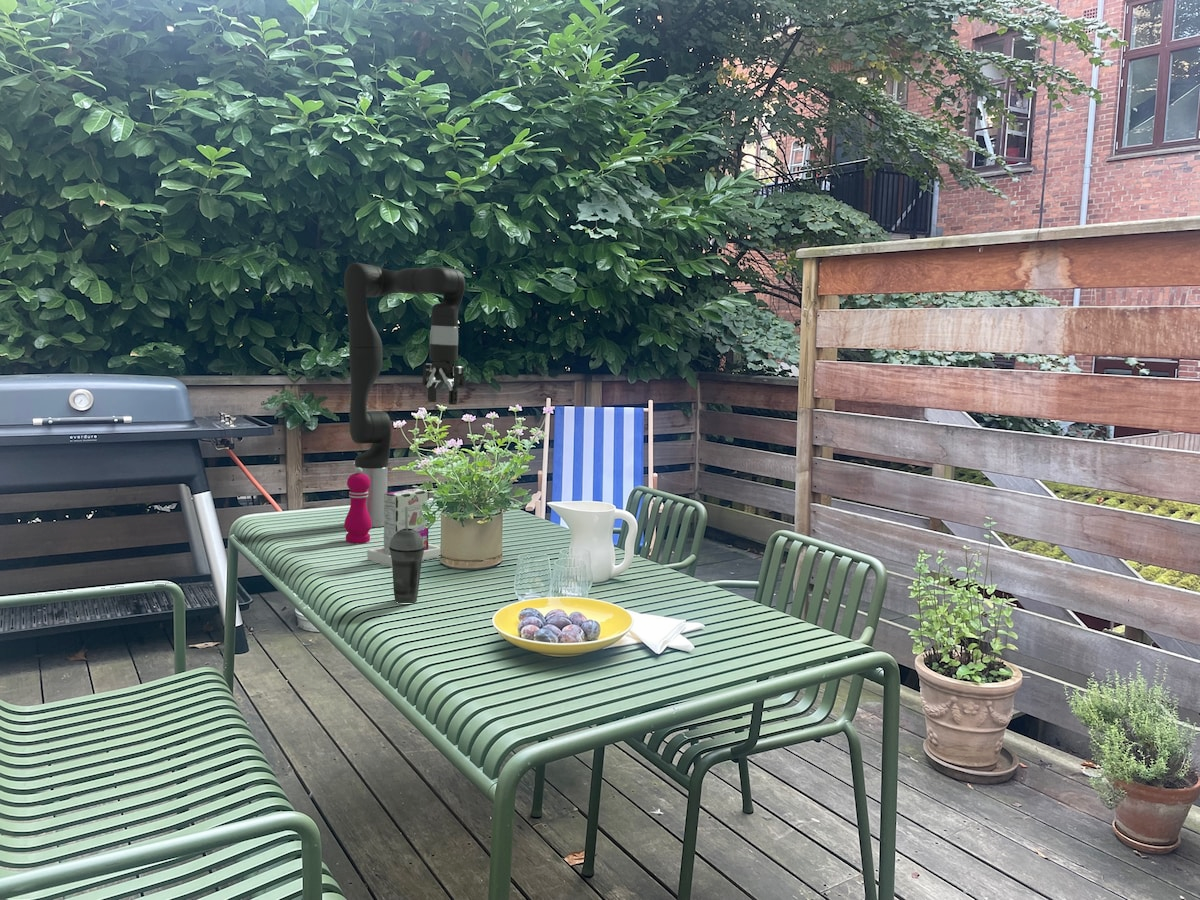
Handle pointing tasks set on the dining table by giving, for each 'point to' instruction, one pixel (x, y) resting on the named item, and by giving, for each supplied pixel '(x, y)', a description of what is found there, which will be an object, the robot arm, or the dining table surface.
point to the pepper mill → (358, 509)
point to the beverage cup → (406, 563)
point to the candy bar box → (396, 514)
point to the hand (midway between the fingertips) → (442, 403)
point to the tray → (386, 559)
